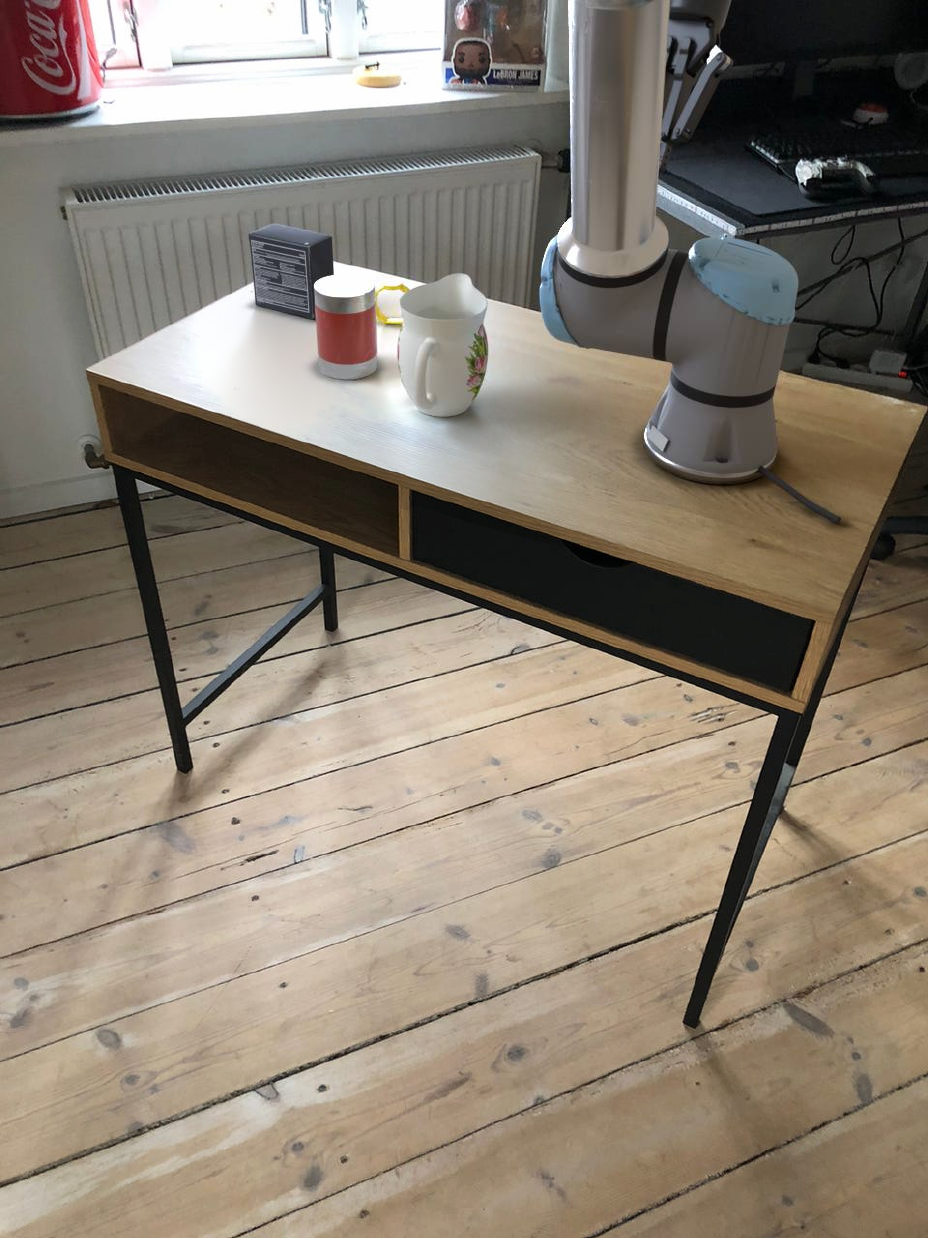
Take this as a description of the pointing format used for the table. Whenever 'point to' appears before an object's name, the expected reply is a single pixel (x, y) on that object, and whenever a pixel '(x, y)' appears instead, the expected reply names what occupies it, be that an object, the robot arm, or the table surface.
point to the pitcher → (443, 345)
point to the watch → (390, 285)
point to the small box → (289, 267)
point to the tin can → (346, 326)
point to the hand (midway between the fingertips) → (640, 198)
